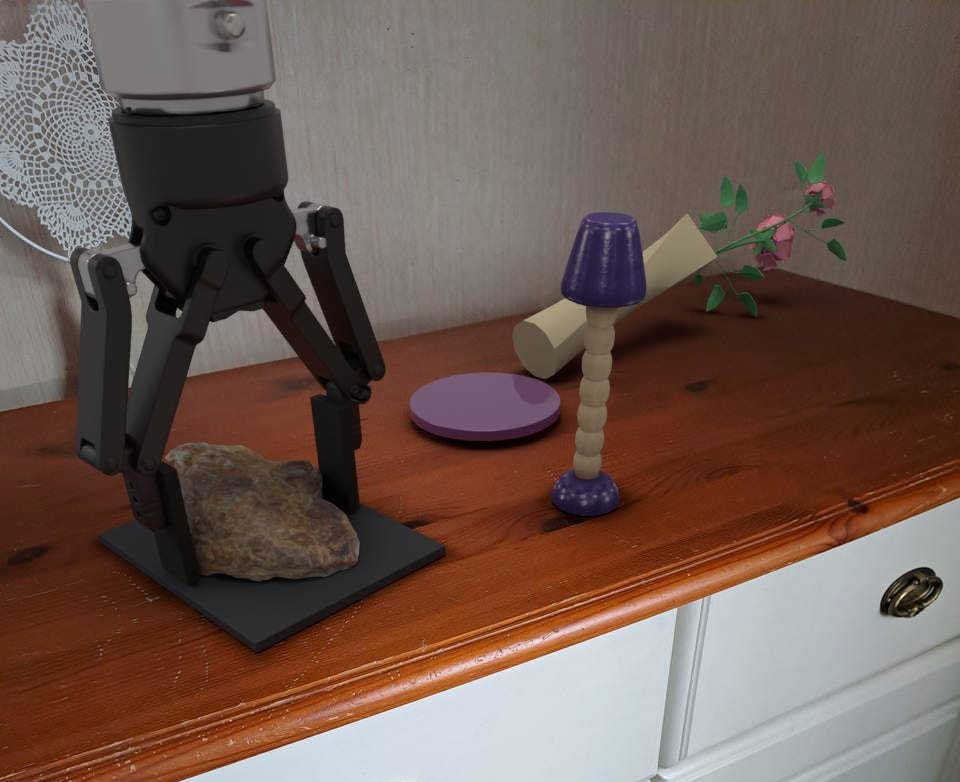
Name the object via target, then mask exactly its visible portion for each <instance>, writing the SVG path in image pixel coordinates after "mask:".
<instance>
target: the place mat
mask: <svg viewBox="0 0 960 782" xmlns="http://www.w3.org/2000/svg"><path fill="white" fill-rule="evenodd" d="M318 498H320V499H322V500H324V499H323V498H322V490H321V491H320V493H319V496H318ZM325 501H326V500H325ZM327 502H328V501H327ZM335 506H336V505H335ZM336 507H337V508H339V509H340V510H341V511H342V512H343V513H345V514H346V516H347V518H348V520H349V522H350V524H351V526H352V527H353V529H354V531H355V532H356V533H357V537H358V539H359V542H360V544H359V556H358V560H357V563H356V565H355V566H353V567H351V568H349V569H346V570H340V571H337V572H335V573H333V574H331V575H329V576H327V577H322V576H317V577H307V578H301V579H297V580H296V579H289V578H284V577H273V578H270V579H268V580H261V581H255V580H251V579H248V578H234V577H233V576H232V575H228V574H224V573H215V574H212V575H208V576H207V575H202V574H200V578H201V580H199V581H197V582H195V583H193V584H191V585H187V584H186V583H185V582H183V581H182V580H180V579H179V578H177V577H176V576H174V575H173V574H171V573H170V572H168V571H167V570H165V569H164V568H162V564H161V560H160V556H159V552H158V548H157V544H156V540H155V536H154V532H152V531H150V530H149V529H147V528H146V527H144V526H142V525H141V524H139V523H138V521H137V520H136V519H135V518H134V519H133V520H130V521H128V522H125V523H122V524H120V525H118V526H115V527H113V528H110V529H108V530H105V531H102V532H100V533H98V538H99V542H100V543H101V544H103V545H104V547H107V548H108V549H109V550H111V551H112V553H115V554H116V555H118V556H119V557H120V558H122V559H123V560H125V561H126V562H127V563H129V564H130V565H132V566H134V568H136V569H137V570H139V571H140V572H142V573H143V574H145V575H146V576H147V577H149V579H152V580H153V581H154V582H156V583H157V584H158V585H160V586H161V587H162V588H164V589H166V590H167V591H168V592H170V593H171V594H173V595H174V596H176V597H177V598H178V599H180V600H181V601H183V602H184V603H186V604H187V605H188V606H190V607H191V608H193V609H194V610H195V611H197V612H198V613H200V614H201V615H203V616H204V617H205V618H206V619H208V620H210V621H211V622H212V623H214V624H215V625H216V626H218V627H220V628H221V629H222V630H224V631H225V632H227V633H228V634H229V635H231V636H232V637H234V638H235V639H237V640H238V641H239V642H241V643H242V644H243V645H245V646H247V647H248V648H249V649H250V650H252V651H253V652H255V653H260V652H262V651H264V650H266V649H267V648H269V647H271V646H273V645H275V644H277V643H278V642H281V641H283V640H285V639H287V638H289V637H290V636H293V635H294V634H297V633H298V632H300V631H301V630H304V629H305V628H307V627H310V626H311V625H313V624H316V623H317V622H319V621H321V620H323V619H325V618H327V617H328V616H330V615H332V614H334V613H337V612H338V611H340V610H342V609H344V608H345V607H346V608H347V606H350V605H351V604H354V603H355V602H357V601H360V600H361V599H363V598H365V597H367V596H370V594H373V593H374V592H376V591H379V590H380V589H382V588H384V587H387V586H388V585H390V584H392V583H394V582H396V581H398V580H399V579H401V578H403V577H405V576H407V575H409V574H411V573H413V572H415V571H416V570H418V569H421V568H422V567H424V566H426V565H429V564H430V563H432V562H433V561H434V562H435V561H436V560H438V559H440V558H442V557H443V556H445V555H446V553H447V552H446V545H444V544H443V543H440V542H438V541H437V540H435V539H434V538H433V539H432V538H431V537H428V536H427V535H425V534H423V533H420V532H418V531H416V530H414V529H412V528H411V527H409V526H406V525H405V524H403V523H400V522H398V521H397V520H395V519H393V518H390V517H388V516H387V515H385V514H383V513H381V512H378V511H376V510H374V509H373V508H371V507H369V506H367V505H365V504H362V503H361V502H360V509H358V510H355V511H353V512H351V513H350V512H348V511H346V510H344V509H342V508H340V507H338V506H336Z"/></svg>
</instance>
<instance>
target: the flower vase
mask: <svg viewBox="0 0 960 782" xmlns="http://www.w3.org/2000/svg"><path fill="white" fill-rule="evenodd" d="M793 163H794V167H795V172H796V176H797V178H798V180H799V183H800V187H801V189H802V193H803V195H802V196H803V197H804V200H803V204H802V208H801V209H799V210H798V211H796V212H795V213H793V214H791V215H789V216H787V215H786V214H779V213H777V212H776V211H773V215H772V216H771V217H770V215H769V214H768V213H766V214H765V215H764V216H763V219H762V220H761V221H760V222H757V223H755V224H756V229H749V232H750V234H748V235H746V236H743V237H741V238H739V239H737V240H735V241H732V242H731V240H732V231H733V228H734V225H735V222H736V220H737V219H738V217H739V216H740V215H741V214H742V213H744V212H746V211H747V210H748V209H749V201H748V195H747V191H746V189H745V187H743V185H742V183H741V182H740V183H739V185H738V188H737V190H736V193H735V192H734V187H733V183H732V182H731V181H730V179H729V178H728V176H727V175H726V174H723V178H722V181H721V184H720V191H719V192H720V194H719V195H720V197H719V198H720V206H722V207H725V209H724V210H725V211H720V212H716V213H715V214H713V215H712V214H710V213H697V216H698V218H699V220H700V222H701V225H700V226H699V227H698V226H697V224H696V223H695V222H694V221H693V219H692V218H691V216H690V215H689V214H688V213H686V214H684V215H683V216H682V218H680V220H678V221H677V222H676V224H675V225H673V226H672V228H671V229H669V230H668V231H667V232H666V233H665V234H664V235H662V236H661V237H660V238H658V239H657V240H656V241H655V242H653V243H652V244H651V245H649V247H647V248H646V249H645V250H642V252H643V261H644V269H645V276H646V296H645V297H644V299H643V300H642V301H641V302H639V303H638V304H635V305H630V306H626V307H621V308H618V310H617V317H616V320H615V322H614V323H613V327H614V326H615V325H617V324H618V323H620V321H622V320H623V319H624V318H626V317H627V316H628V315H629V314H631V312H633V311H635V310H637V308H639V307H641V306H642V305H644V304H646V303H648V302H650V301H651V300H653V299H654V298H656V297H658V296H659V295H661V294H663V293H665V292H666V291H668V290H672V289H675V288H678V287H681V286H686V285H688V284H690V283H691V282H692V281H693V283H694V285H695V287H696V288H698V287H699V286H700V285H701V284H703V283H704V276H703V274H701V273H702V272H703V271H704V270H705V269H706V268H707V267H708V266H710V264H712V263H713V262H715V263H716V264H717V265H718V266H719V268H720V269H721V270H722V272H723V274H724V277H723V278H722V280H721V282H720V284H719V285H718V284H714V285H713V288H712V290H711V293H710V295H709V297H708V298H707V304H706V309H705V312H706V313H707V312H709V311H712V310H713V309H716V308H717V307H719V305H720V304H721V302H722V301H724V299H725V296H726V293H725V291H724V290H723V288H722V287H721V286H722V283H723V282H724V280H725V279H726V280H727V281H728V283H729V285H730V287H731V289H732V290H733V292H734V293H735V294H736V296H737V300H738V301H739V302H740V303H741V304H742V305H743V306H744V308H745V309H746V310H747V311H748V312H749V313H750V314H752V315H753V317H755V318H758V310H757V303H756V302H755V300H754V298H753V297H752V295H751V294H750V293H748V292H747V291H746V292H741V293H740V292H739V293H737V292H736V290H735V289H734V287H733V285H732V283H731V282H730V280H729V278H728V277H729V276H728V275H727V274H726V271H725V270H724V269H723V267H722V266H721V265H720V263H719V262H718V261H717V260H716V259H717V258H718V255H720V254H722V253H723V252H727V251H730V250H733V249H736V248H741V247H743V246H748V245H749V247H748V248H749V249H750V250H753V253H752V254H751V255H750V258H751V259H752V260H753V261H755V262H756V264H757V267H756V266H754V265H752V264H744V265H743V266H742V268H741V270H740V272H738V271H731V270H727V272H730V273H733V274H740V275H741V277H742V278H743V279H744V280H746V281H757V282H758V281H760V280H763V279H764V278H765V274H763V273H762V272H761V271H760V270H759V268H760V267H762V266H763V271H765V272H766V271H769V270H772V269H774V270H778V268H779V265H778V262H781V261H784V262H786V261H787V259H788V258H790V257H791V254H792V249H793V244H794V240H795V237H796V235H795V234H794V232H795V228H794V226H796V227H797V228H799V229H800V230H802V231H803V232H805V233H806V234H808V235H810V236H811V237H813V238H814V239H817V240H818V241H820V242H822V243H825V244H826V246H827V249H828V251H829V252H831V253H832V254H833V255H835V256H836V257H837V258H838V259H839V260H842V261H844V262H849V260H848V257H847V252H846V249H845V247H844V246H843V244H841V242H840V241H839V240H838V239H836V238H835V237H833V238H831V239H830V240H829V241H827V242H826V241H824V240H822V239H820V238H819V237H817V236H815V235H814V234H812V233H810V232H815V231H819V230H820V229H821V228H822V230H824V229H829V228H835V227H838V226H841V225H843V224H846V221H844V220H842V219H840V218H838V217H827V218H824V219H823V221H822V223H821V224H820V227H818V228H815V229H804V228H803V227H801V226H799V225H798V224H796V223H794V222H793V221H791V219H793V218H795V217H796V216H798V215H799V214H801V213H803V212H804V211H805V210H807V209H809V210H808V214H810V213H811V214H814V213H816V214H815V216H816V217H820V216H822V215H826V209H831V210H833V209H834V207H835V204H836V201H837V200H836V198H834V197H832V196H833V195H835V194H836V191H835V189H834V186H833V185H832V183H830V184H829V185H827V184H828V182H827V181H826V180H824V177H825V174H826V168H827V163H826V156H825V152H822V154H820V155H819V156H818V157H817V158H816V160H814V161H813V163H812V165H811V166H810V168H809V170H807V168H806V166H805V165H804V164H803V163H801V162H799V161H796V160H794V161H793ZM823 180H824V181H823ZM805 181H807V182H808V183H810V185H806V186H805V188H806V189H807V190H806V191H805V189H804V183H805ZM734 203H735V204H734ZM732 204H734V210H735V211H736V212H737V213H738V215H737V216H736V217H735V218H734V221H733V223H732V227H731V226H730V222H729V218H728V214H727V213H728V212H727V209H728V208H729V207H730V206H731V205H732ZM791 224H792V225H794V226H792V225H791ZM726 229H729V231H728V230H726ZM701 230H702V231H706V232H709V233H711V234H716V233H717V232H719V231H720V232H719V233H718V236H717V239H716V243H715V244H716V245H715V250H713V248H712V247H711V245H710V243H709V242H708V241H707V240H706V238H705V236H704V235H703V234H702V232H701ZM723 231H724V232H725V233H727V234H728V235H729V242H728V244H726V245H724V246H721V247H720V248H718V244H719V238H720V236H721V233H722V232H723ZM750 238H751V239H750ZM747 239H749V240H747ZM587 325H588V321H587V319H586V306H583V305H579V304H576V303H574V302H571V301H569V300H568V299H566V298H565V297H564V298H563V299H561V300H560V301H558V302H555V303H554V304H552V305H551V306H548V307H547V308H545V309H542V310H541V311H539V312H537V313H535V314H533V315H531V316H529V317H527V318H525V319H523V320H522V321H520V322H518V323H517V324H515V325H514V328H513V332H512V337H511V339H512V344H513V348H514V353H515V354H516V356H517V358H518V359H519V361H520V363H521V364H522V366H523V368H525V369H526V370H527V371H528V372H529V373H530V374H532V376H534V377H536V378H539V379H543V380H547V379H548V378H550V377H553V376H555V375H556V374H557V373H558V372H559V371H560V370H561V369H563V367H565V366H566V365H567V364H568V363H569V362H570V361H571V360H573V359H574V358H575V357H576V356H577V355H578V354H580V353H581V352H583V350H585V349H586V348H585V345H584V332H585V329H586V326H587Z"/></svg>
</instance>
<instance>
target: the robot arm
mask: <svg viewBox="0 0 960 782" xmlns="http://www.w3.org/2000/svg"><path fill="white" fill-rule="evenodd" d="M82 4H83V8H84V12H85V18H86V22H87V27H88V32H89V37H90V42H91V47H92V51H93V56H94V61H95V66H96V70H97V75H98V80H99V85H100V89H101V90H102V91H103V92H104V93H105V94H107V95H108V96H110V97H112V98H116V99H117V104H118V107H115V108H114V109H112V111H111V116H109V117H108V119H107V122H108V126H109V131H110V135H111V140H112V146H113V149H114V150H113V151H114V154H115V159H116V163H117V168H118V174H119V178H120V183H121V188H122V191H123V194H124V197H125V199H126V202H127V205H128V209H129V211H130V216H131V226H130V233H129V236H128V241H127V243H125V244H120V245H117V246H113V247H109V248H105V249H101V250H97V251H96V250H92V249H90V248H87V247H84V246H83V247H77V248H75V249H73V251H72V252H71V254H70V257H69V264H70V268H71V272H72V275H73V278H74V282H75V285H76V288H77V293H78V295H79V296H78V297H79V299H80V303H81V304H80V305H81V306H80V326H79V328H80V329H79V330H80V331H79V353H78V354H79V355H78V357H79V358H78V382H77V383H78V384H77V405H76V406H77V407H76V411H77V412H76V434H75V454H76V456H77V457H78V459H79V460H81V461H83V462H84V463H86V464H88V465H89V466H90V467H92V468H94V469H95V470H97V471H99V472H101V473H103V474H104V475H106V476H108V477H114V476H117V475H118V474H122V477H123V480H124V485H125V488H126V493H127V496H128V501H129V505H130V509H131V513H132V516H133V518H134V520H135V519H136V520H137V521H138V523H139V524H141V525H142V526H144V527H146V528H147V529H149V530H150V531H152V532H154V536H155V540H156V544H157V548H158V552H159V556H160V560H161V564H162V568H164V569H165V570H167V571H168V572H170V573H171V574H173V575H174V576H176V577H177V578H179V579H180V580H182V581H183V582H185V583H186V584H187V585H191V584H193V583H195V582H197V581H199V580H201V578H200V573H199V569H198V564H197V560H196V555H195V550H194V546H193V541H192V537H191V532H190V528H189V523H188V518H187V514H186V509H185V505H184V500H183V495H182V491H181V486H180V482H179V477H178V472H177V469H176V468H175V467H174V466H170V465H169V464H168V463H167V462H166V461H163V456H164V453H165V450H166V446H167V443H168V440H169V436H170V433H171V430H172V426H173V423H174V420H175V416H176V413H177V410H178V406H179V403H180V400H181V397H182V394H183V390H184V387H185V384H186V381H187V377H188V373H189V370H190V367H191V363H192V360H193V357H194V353H195V350H196V348H197V346H198V345H199V344H201V343H202V342H203V341H204V339H205V337H206V334H207V331H208V328H209V324H210V323H216V322H220V321H223V320H227V319H229V318H230V317H232V316H234V314H236V313H238V312H256V311H259V310H260V311H261V310H263V311H264V314H266V315H267V317H268V318H269V320H270V321H271V322H272V323H273V325H274V326H275V327H276V329H277V330H278V332H279V333H280V334H281V335H282V337H283V338H284V340H285V341H286V342H287V343H288V345H289V346H290V347H291V349H292V350H293V352H295V354H296V356H297V357H298V358H299V359H300V361H301V362H302V363H303V365H304V366H305V368H306V370H308V371H309V373H310V374H311V376H312V377H313V379H314V380H315V381H316V382H317V383H318V385H319V386H320V387H321V389H322V390H323V391H325V394H326V395H325V394H323V393H318V394H315V395H312V396H310V397H309V400H310V410H311V417H312V425H313V432H314V433H313V434H314V441H315V448H316V449H315V450H316V456H317V465H318V466H317V467H318V470H319V471H320V472H321V473H322V481H323V483H322V488H321V490H322V498H323V499H324V500H326V501H328V502H330V503H332V504H334V505H336V506H338V507H340V508H342V509H344V510H346V511H348V512H350V513H351V512H353V511H355V510H358V509H360V503H361V502H360V494H359V484H358V483H359V482H358V471H357V463H356V462H357V461H356V453H355V451H357V450H360V449H361V447H362V443H363V432H362V424H361V413H360V412H361V411H360V405H365V404H367V403H368V402H369V401H370V400H371V398H372V392H373V391H372V387H371V385H368V384H370V383H371V382H372V381H373V382H379V381H381V380H382V379H383V378H384V377H385V375H386V371H387V368H386V364H385V361H384V358H383V354H382V352H381V349H380V346H379V344H378V341H377V337H376V335H375V332H374V329H373V326H372V324H371V321H370V317H369V315H368V312H367V309H366V307H365V304H364V301H363V298H362V295H361V292H360V289H359V287H358V283H357V281H356V278H355V276H354V272H353V270H352V267H351V264H350V261H349V257H348V256H347V251H346V237H345V236H346V234H345V220H344V219H345V218H344V214H343V212H342V210H341V209H339V208H338V207H335V206H331V205H325V204H321V203H316V202H313V201H306V200H304V201H302V202H300V203H299V204H298V206H297V208H294V209H293V208H292V209H291V208H290V206H289V204H288V202H287V199H286V197H285V189H286V188H287V186H288V183H289V170H288V161H287V154H286V144H285V137H284V129H283V128H284V127H283V122H282V121H283V120H282V119H283V118H282V112H281V109H280V108H279V107H276V103H275V102H274V101H273V100H270V99H265V93H264V91H267V90H269V89H270V88H272V86H273V85H274V84H275V83H276V81H277V77H276V70H275V62H274V54H273V53H274V52H273V44H272V37H271V28H270V18H269V10H268V2H267V0H82ZM293 244H295V246H296V248H297V249H298V250H299V252H300V256H301V260H302V263H303V265H304V268H305V271H306V274H307V276H308V279H309V281H310V284H311V286H312V289H313V291H314V294H315V296H316V300H317V302H318V304H319V307H320V309H321V312H322V315H323V317H324V320H325V322H326V325H327V328H328V330H329V332H330V335H331V337H332V338H331V337H330V336H329V334H328V333H327V331H326V330H325V328H324V327H323V326H322V324H321V322H320V321H319V320H318V319H317V317H316V316H315V314H314V313H313V311H312V310H311V309H310V307H309V305H308V304H307V303H306V300H307V297H306V295H305V293H304V292H303V290H302V289H301V287H300V286H299V285H298V283H297V282H296V279H294V277H293V276H292V275H291V273H290V271H289V270H288V269H287V267H286V266H285V265H286V263H287V260H288V257H289V254H290V252H291V250H292V247H293ZM139 273H142V274H143V275H144V276H145V277H146V278H147V279H148V280H149V281H150V282H151V283H152V284H153V289H152V292H151V295H150V299H149V302H148V306H147V309H146V311H145V313H146V314H145V321H146V325H147V330H146V333H145V337H144V340H143V344H142V347H141V350H140V354H139V357H138V361H137V364H136V368H135V372H134V375H133V378H132V381H131V384H130V369H131V367H130V366H131V351H132V350H131V349H132V332H133V311H132V304H131V298H132V297H134V296H136V295H137V293H138V286H137V284H136V280H137V277H138V276H139ZM177 310H179V311H181V314H180V316H178V317H177ZM129 384H130V385H131V386H129ZM129 387H130V388H129Z"/></svg>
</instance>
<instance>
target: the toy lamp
mask: <svg viewBox="0 0 960 782" xmlns="http://www.w3.org/2000/svg"><path fill="white" fill-rule="evenodd" d="M641 239H642V238H641V232H640V226H639V223H638V221H637V219H636V218H635V217H633V216H632V215H629V214H626V213H622V212H616V211H615V212H613V211H599V212H598V211H597V212H591V213H588V214H585V216H584V217H583V218H582V219H581V221H580V223H579V226H578V228H577V231H576V234H575V238H574V241H573V244H572V247H571V249H570V253H569V255H568V260H567V262H566V265H565V269H564V272H563V275H562V279H561V282H560V293H561V295H562V296H563V297H564V299H565V298H566V299H568V300H569V301H571V302H574V303H576V304H579V305H583V306H586V319H587V321H588V325H587V326H586V329H585V332H584V345H585V348H584V349H585V351H584V353H583V355H582V358H581V372H582V374H583V377H582V379H581V381H580V384H579V390H578V391H579V392H578V393H579V394H578V395H579V399H580V403H579V405H578V408H577V412H576V419H577V425H578V428H577V429H576V433H575V437H574V444H575V448H576V451H575V453H574V455H573V460H572V466H573V469H570V470H568V471H566V472H565V473H563V474H562V475H560V477H559V478H558V479H557V480H556V482H555V483H554V486H553V488H552V490H551V495H550V500H551V502H552V504H554V506H556V508H558V510H560V511H563V512H565V513H568V514H570V515H574V516H575V515H576V516H582V517H586V516H588V517H591V516H593V517H595V516H600V515H604V514H607V513H610V512H611V511H613V510H615V509H616V508H617V507H618V506H619V504H620V493H619V489H618V486H617V484H616V482H615V480H614V479H613V478H612V477H611V476H610V474H608V473H607V472H605V471H603V470H601V468H602V462H603V461H602V453H601V451H602V449H603V447H604V443H605V431H604V426H605V425H606V422H607V418H608V407H607V404H606V403H607V401H608V400H609V398H610V397H609V396H610V392H611V386H610V385H611V384H610V379H609V376H610V374H611V372H612V367H613V356H612V352H611V351H612V350H613V347H614V345H615V340H616V339H615V338H616V332H615V328H614V326H613V323H614V322H615V320H616V317H617V310H618V308H621V307H626V306H630V305H635V304H638V303H639V302H641V301H642V300H643V299H644V297H645V296H646V276H645V269H644V261H643V246H642V240H641Z"/></svg>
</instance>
